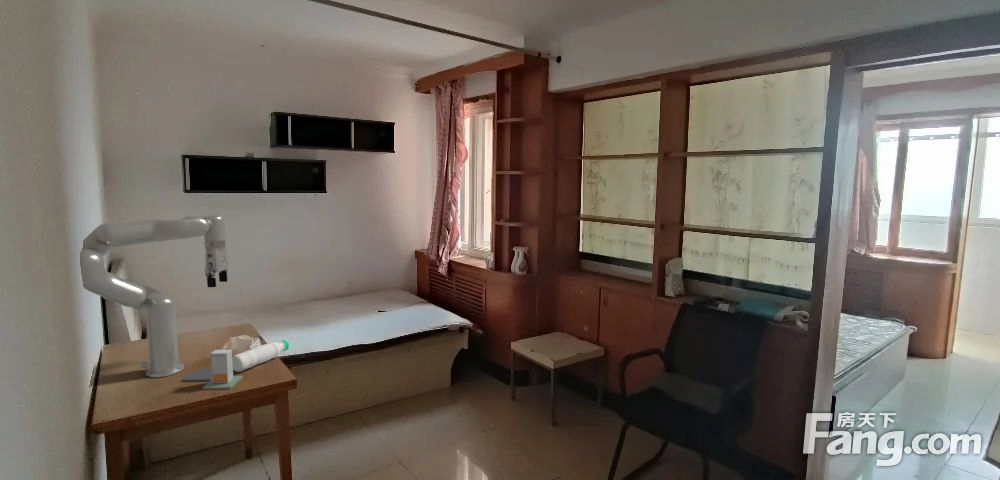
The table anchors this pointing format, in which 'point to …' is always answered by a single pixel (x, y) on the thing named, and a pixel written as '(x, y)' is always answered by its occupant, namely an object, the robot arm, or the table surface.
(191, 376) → the charcoal mat
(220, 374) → the skincare box
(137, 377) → the table surface
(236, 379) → the sage mat
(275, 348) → the water bottle
